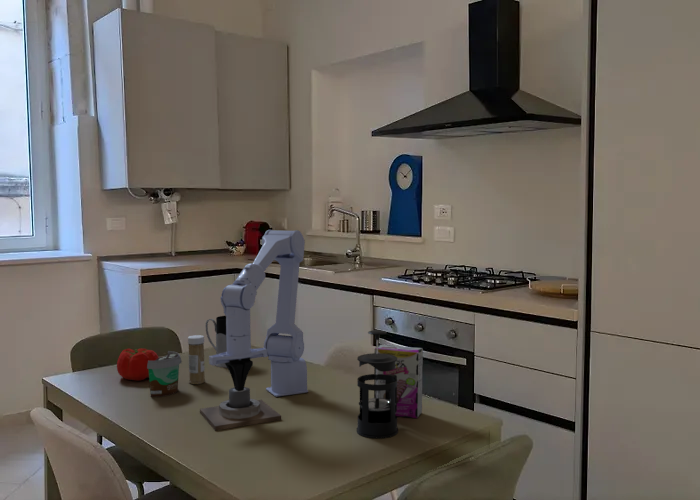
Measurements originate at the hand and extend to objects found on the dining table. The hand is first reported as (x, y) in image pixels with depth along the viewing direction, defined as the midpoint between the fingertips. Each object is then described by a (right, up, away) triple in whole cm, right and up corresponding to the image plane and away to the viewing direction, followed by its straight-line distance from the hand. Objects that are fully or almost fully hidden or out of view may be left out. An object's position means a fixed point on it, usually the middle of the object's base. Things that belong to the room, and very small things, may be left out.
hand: (239, 390), depth 159 cm
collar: (0, -6, 0) cm, 7 cm away
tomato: (-36, -4, +35) cm, 50 cm away
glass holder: (-14, -3, +53) cm, 55 cm away
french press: (+33, -7, -10) cm, 35 cm away
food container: (-22, -5, +20) cm, 31 cm away
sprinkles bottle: (-17, -4, +30) cm, 35 cm away
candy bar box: (+38, -7, +2) cm, 39 cm away
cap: (0, -5, 0) cm, 6 cm away
